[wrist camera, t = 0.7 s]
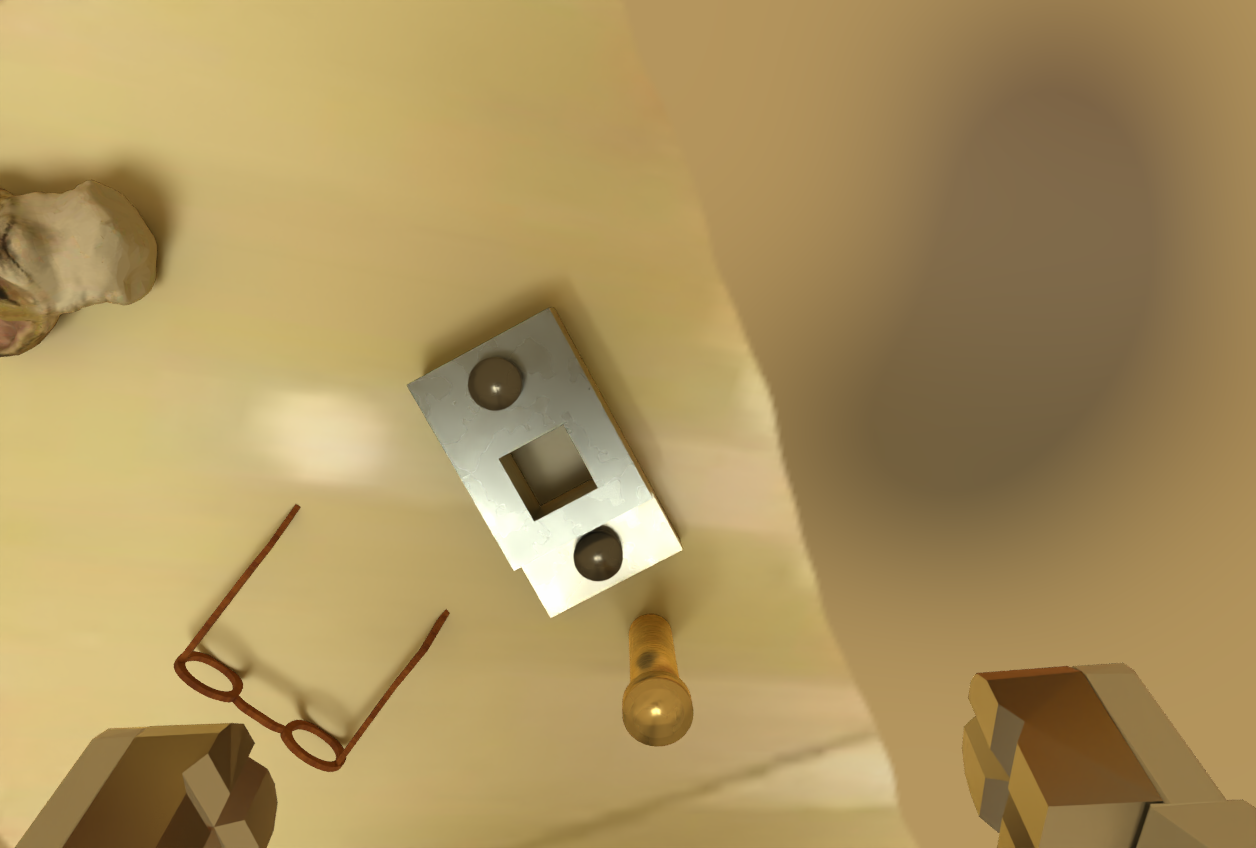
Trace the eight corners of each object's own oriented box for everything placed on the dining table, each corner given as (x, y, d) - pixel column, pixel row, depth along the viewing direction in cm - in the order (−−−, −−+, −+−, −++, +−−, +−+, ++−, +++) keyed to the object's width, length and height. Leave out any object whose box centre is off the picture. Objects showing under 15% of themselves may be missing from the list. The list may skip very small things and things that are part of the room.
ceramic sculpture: (121, 322, 44) (-126, 375, 45) (210, 319, 53) (0, 364, 54) (65, 123, 43) (-190, 183, 44) (166, 154, 51) (-50, 203, 52)
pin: (688, 645, 57) (705, 726, 46) (638, 671, 57) (643, 758, 46) (662, 597, 56) (672, 668, 45) (611, 623, 56) (609, 700, 45)
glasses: (195, 646, 57) (154, 679, 52) (298, 501, 55) (266, 521, 50) (351, 749, 58) (326, 791, 53) (455, 610, 56) (439, 640, 52)
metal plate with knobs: (680, 540, 55) (687, 565, 50) (552, 606, 56) (546, 637, 51) (554, 307, 53) (547, 307, 48) (422, 378, 54) (401, 387, 48)
